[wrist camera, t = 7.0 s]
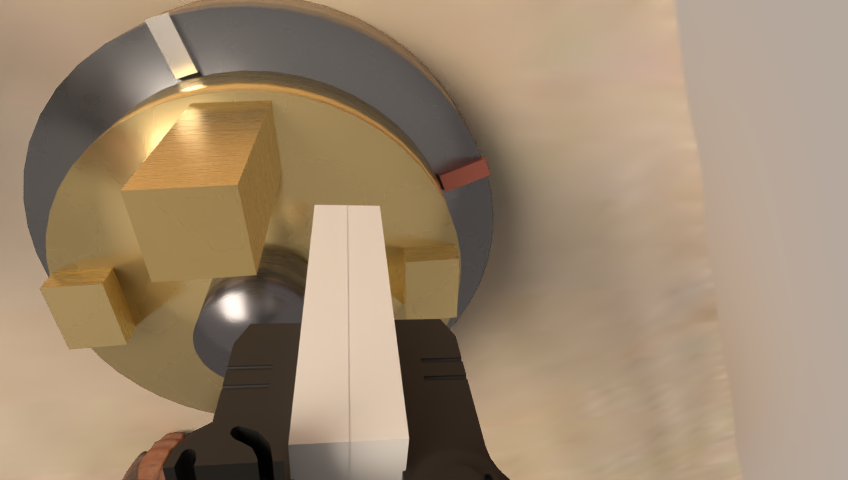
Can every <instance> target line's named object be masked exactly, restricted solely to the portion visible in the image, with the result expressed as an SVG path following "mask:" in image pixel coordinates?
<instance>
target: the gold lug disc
mask: <svg viewBox="0 0 848 480" xmlns="http://www.w3.org/2000/svg"><path fill="white" fill-rule="evenodd" d="M315 205H362V206H380V211H381V219H382V227H383V235H384V243H385V251H386V259H387V267H388V275H389V283H390V291H391V298H392V306H393V314H394V320H404V319H441V320H442V321H443V323H444V324H445V325H446V326H447V324H448V322H449V319H450V318H453V317H457V302H458V293H459V285H460V277H461V258H460V249H459V243H458V238H457V233H456V230H455V227H454V224H453V221H452V218H451V215H450V212H449V209H448V206H447V203H446V201H445V198H444V195H443V192H442V189H441V187H440V184H439V181H438V179H437V177H436V175H435V173H434V172H433V170H432V168H431V166H430V164H429V162H428V161H427V159H426V158H425V156H424V155H423V154H422V152H421V151H420V150H419V148H418V147H417V146H416V144H415V143H414V142H413V141H412V140H411V139H410V138H409V137H408V136H407V134H406V133H405V132H404V131H403V130H402V129H401V128H400V127H399V126H398V125H397V124H395V123H394V122H393V121H392V120H390V119H389V118H388V117H387V116H385V115H384V114H383V113H381V112H380V111H379V110H378V109H376V108H375V107H373V106H371V105H369V104H368V103H366V102H364V101H363V100H361V99H359V98H358V97H356V96H354V95H352V94H350V93H348V92H345V91H343V90H341V89H339V88H336V87H334V86H332V85H329V84H326V83H323V82H320V81H316V80H313V79H309V78H306V77H303V76H298V75H291V74H285V73H279V72H273V71H246V70H243V71H232V72H222V73H214V74H209V75H205V76H201V77H197V78H192V79H188V80H185V81H183V82H180V83H178V84H175V85H172V86H170V87H167V88H165V89H162V90H160V91H159V92H157V93H155V94H153V95H152V96H150V97H148V98H146V99H145V100H143V101H141V102H140V103H138V104H137V105H136V106H134V107H133V108H132V109H131V110H129V111H128V112H127V113H126V114H125V115H123V116H122V117H121V118H120V119H119V120H117V121H116V122H115V123H114V124H113V125H112V126H111V127H110V128H109V129H108V130H106V131H105V132H104V133H103V134H102V135H101V136H100V137H99V138H98V139H97V140H96V141H94V142H93V143H92V144H91V145H90V146H89V147H88V148H87V149H86V150H85V152H84V153H83V154H82V155H81V156H80V157H79V158H78V160H77V161H76V162H75V163H74V164H73V165H72V166H71V168H70V170H69V171H68V173H67V175H66V176H65V178H64V180H63V181H62V183H61V185H60V186H59V188H58V190H57V193H56V196H55V198H54V201H53V204H52V207H51V209H50V213H49V219H48V225H47V231H46V259H47V264H48V269H49V274H50V276H49V277H48V279H47V280H46V281H45V282H44V284H43V285H42V286H41V287H40V290H41V292H42V294H43V296H44V298H45V300H46V302H47V304H48V306H49V308H50V311H51V313H52V315H53V317H54V319H55V321H56V323H57V325H58V327H59V329H60V331H61V333H62V335H63V337H64V339H65V341H66V343H67V345H68V347H69V349H79V348H92V349H93V350H94V351H95V352H96V353H97V354H98V355H99V356H100V357H101V358H102V359H103V360H104V361H105V362H107V363H108V364H109V365H110V366H112V367H113V368H114V369H115V370H117V371H118V372H119V373H120V374H122V375H124V376H125V377H127V378H128V379H130V380H131V381H133V382H135V383H136V384H138V385H139V386H141V387H143V388H145V389H147V390H149V391H151V392H153V393H155V394H157V395H159V396H161V397H163V398H166V399H169V400H171V401H174V402H176V403H179V404H181V405H184V406H188V407H191V408H195V409H198V410H201V411H205V412H210V413H215V411H216V407H217V403H218V400H219V396H220V392H221V390H222V388H223V381H224V377H222V376H219V375H218V374H216V373H215V372H213V371H212V370H210V369H209V368H208V367H207V366H206V365H205V364H204V363H203V362H202V361H201V359H200V358H199V357H198V355H197V353H196V351H195V348H194V344H193V332H194V328H195V325H196V322H197V319H198V317H199V314H200V311H201V308H202V306H203V303H204V300H205V298H206V295H207V292H208V289H209V287H210V284H211V281H212V278H222V277H236V276H250V275H257V271H258V267H259V263H260V259H261V255H262V251H263V249H274V250H279V251H283V252H286V253H289V254H291V255H293V256H295V257H297V258H299V259H300V260H302V261H303V262H304V263H306V264H307V265H308V261H309V252H310V243H311V234H312V224H313V215H314V206H315Z"/></svg>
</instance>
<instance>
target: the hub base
mask: <svg viewBox="0 0 848 480" xmlns="http://www.w3.org/2000/svg"><path fill="white" fill-rule="evenodd" d="M243 70H246V71H273V72H279V73H285V74H291V75H298V76H303V77H306V78H309V79H313V80H316V81H320V82H323V83H326V84H329V85H332V86H334V87H336V88H339V89H341V90H343V91H345V92H348V93H350V94H352V95H354V96H356V97H358V98H359V99H361V100H363V101H364V102H366V103H368V104H369V105H371V106H373V107H375V108H376V109H378V110H379V111H380V112H381V113H383V114H384V115H385V116H387V117H388V118H389V119H390V120H392V121H393V122H394V123H395V124H397V125H398V126H399V127H400V128H401V129H402V130H403V131H404V132H405V133H406V134H407V136H408V137H409V138H410V139H411V140H412V141H413V142H414V143H415V144H416V146H417V147H418V148H419V150H420V151H421V152H422V154H423V155H424V156H425V158H426V159H427V161H428V162H429V164H430V166H431V168H432V170H433V172H434V173H435V175H436V177H437V179H438V181H439V184H440V187H441V189H442V192H443V195H444V198H445V201H446V203H447V206H448V209H449V212H450V215H451V218H452V221H453V224H454V227H455V230H456V233H457V238H458V243H459V249H460V258H461V277H460V285H459V293H458V302H457V317H453V318H450V319H449V322H448V324H447V327H448V328H449V329H450V327H451V326H452V325H453V324H454V323H455V322H456V321H457V319H458V318H459V317H460V315H461V314H462V312H463V311H464V310H465V308H466V307H467V305H468V304H469V302H470V300H471V299H472V297H473V295H474V293H475V291H476V289H477V287H478V285H479V283H480V281H481V278H482V275H483V272H484V269H485V267H486V264H487V260H488V256H489V251H490V246H491V241H492V227H493V209H492V198H491V190H490V185H489V181H488V177H487V176H489V175H490V171H489V168H488V165H487V162H486V159H485V157H482V158H481V156H480V153H479V151H478V148H477V146H476V143H475V141H474V139H473V137H472V135H471V134H470V132H469V130H468V128H467V127H466V125H465V123H464V121H463V119H462V118H461V116H460V114H459V112H458V111H457V109H456V107H455V106H454V104H453V102H452V101H451V99H450V97H449V96H448V94H447V92H446V91H445V90H444V89H443V87H442V86H441V85H440V84H439V82H438V81H437V80H436V79H435V77H434V76H433V75H432V73H431V72H430V71H429V70H428V69H427V68H426V67H425V66H424V65H423V64H422V63H421V62H420V61H419V60H418V59H416V58H415V57H414V56H413V55H412V54H411V53H410V52H409V51H408V50H407V49H405V48H404V47H403V46H401V45H400V44H398V43H397V42H396V41H394V40H393V39H392V38H390V37H389V36H387V35H386V34H385V33H383V32H381V31H380V30H378V29H376V28H374V27H372V26H370V25H369V24H367V23H365V22H363V21H361V20H359V19H358V18H356V17H353V16H351V15H348V14H345V13H343V12H340V11H338V10H335V9H332V8H330V7H327V6H324V5H320V4H316V3H312V2H307V1H303V0H202V1H197V2H192V3H189V4H187V5H184V6H181V7H178V8H175V9H172V10H169V11H166V12H163V13H161V14H160V15H158V16H154V17H151V18H148V19H146V20H145V23H143V24H141V25H139V26H137V27H135V28H133V29H132V30H130V31H128V32H126V33H124V34H122V35H121V36H119V37H117V38H115V39H113V40H111V41H110V42H108V43H106V44H105V45H103V46H102V47H101V48H99V49H98V50H97V51H95V52H94V53H93V54H92V55H90V56H89V57H88V58H86V59H85V60H84V61H82V62H81V63H80V64H79V65H78V66H77V67H76V68H75V69H74V70H73V71H72V72H71V73H70V74H69V76H68V77H67V78H66V79H65V80H64V81H63V82H62V83H61V84H60V85H59V86H58V88H57V89H56V90H55V92H54V94H53V95H52V97H51V98H50V100H49V102H48V103H47V105H46V106H45V108H44V110H43V111H42V113H41V114H40V117H39V119H38V122H37V124H36V127H35V129H34V132H33V135H32V137H31V140H30V142H29V147H28V152H27V157H26V163H25V168H24V205H25V211H26V217H27V224H28V228H29V231H30V234H31V237H32V241H33V244H34V247H35V250H36V253H37V255H38V257H39V259H40V261H41V263H42V265H43V267H44V269H45V271H46V273H47V275H48V277H49V276H50V274H49V269H48V264H47V259H46V231H47V225H48V219H49V213H50V209H51V207H52V204H53V201H54V198H55V196H56V193H57V190H58V188H59V186H60V185H61V183H62V181H63V180H64V178H65V176H66V175H67V173H68V171H69V170H70V168H71V166H72V165H73V164H74V163H75V162H76V161H77V160H78V158H79V157H80V156H81V155H82V154H83V153H84V152H85V150H86V149H87V148H88V147H89V146H90V145H91V144H92V143H93V142H94V141H96V140H97V139H98V138H99V137H100V136H101V135H102V134H103V133H104V132H105V131H106V130H108V129H109V128H110V127H111V126H112V125H113V124H114V123H115V122H116V121H117V120H119V119H120V118H121V117H122V116H123V115H125V114H126V113H127V112H128V111H129V110H131V109H132V108H133V107H134V106H136V105H137V104H138V103H140V102H141V101H143V100H145V99H146V98H148V97H150V96H152V95H153V94H155V93H157V92H159V91H160V90H162V89H165V88H167V87H170V86H172V85H175V84H178V83H180V82H183V81H185V80H188V79H192V78H197V77H201V76H205V75H209V74H214V73H222V72H232V71H243ZM307 270H308V265H307V264H306V263H304V262H303V261H302V260H300V259H299V258H297V257H295V256H293V255H291V254H289V253H286V252H283V251H279V250H274V249H263V251H262V255H261V259H260V263H259V267H258V271H257V275H250V276H236V277H222V278H212V281H211V284H210V287H209V289H208V292H207V295H206V298H205V300H204V303H203V306H202V308H201V311H200V314H199V317H198V319H197V322H196V325H195V328H194V332H193V344H194V348H195V351H196V353H197V355H198V357H199V358H200V359H201V361H202V362H203V363H204V364H205V365H206V366H207V367H208V368H209V369H210V370H212V371H213V372H215V373H216V374H218V375H219V376H222V377H225V374H226V370H227V369H228V363H229V359H230V355H231V351H232V348H233V344H234V342H235V341H236V340H237V339H238V338H239V337H240V335H241V334H242V333H243V332H244V331H245V330H246V329H247V327H248V326H249V325H250V324H272V323H302V315H303V306H304V297H305V288H306V279H307Z"/></svg>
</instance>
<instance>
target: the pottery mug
mask: <svg viewBox="0 0 848 480" xmlns="http://www.w3.org/2000/svg"><path fill="white" fill-rule="evenodd" d="M183 439H185V435H184V433H170V434H167V435H165V436H164V437H163V438H162V439H161V440H159V441H157V442H155V443H154V445H153V447H152V448H151V449H150V450H149V451H148V452H147V451H144V452H142V453H141V454H140V455H139V456H138V457H137V459H136V460H135V461H134V462H133V464H132V465H131V467H130V468H129V469H128V471H127V473H126V474H125V476H124V478H123V480H165V476H164V472H163V469H162V468H163V466H164V464H165V462H166V461H167V459H168V457H169V455H170V454H171V452H172V450H173V448H175V447H176V446H177V445H178V444H179V443H180V442H181V441H182V440H183Z"/></svg>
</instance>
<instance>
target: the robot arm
mask: <svg viewBox="0 0 848 480" xmlns="http://www.w3.org/2000/svg"><path fill="white" fill-rule="evenodd" d="M162 469H163V472H164V476H165V480H510V479H509V478H508V477H506V476H505V475H504V474H503V473H502V472H501V471H500V470H499V469H498V468H497V467H496V465H495V464H494V462H493V461H492V460H491V458H490V456H489V454H488V451H487V449H486V446H485V443H484V439H483V435H482V432H481V428H480V424H479V421H478V417H477V413H476V410H475V406H474V402H473V399H472V395H471V391H470V388H469V384H468V380H467V379H466V373H465V369H464V365H463V362H461V354H460V351H459V347H458V343H457V340H456V336H455V335H454V334H453V333H452V332H451V331H450V329H449V328H448V327H447V326H446V325H445V324H444V323H443V321H442V320H441V319H404V320H394V314H393V306H392V298H391V291H390V283H389V275H388V267H387V259H386V251H385V243H384V235H383V227H382V219H381V211H380V206H362V205H315V206H314V215H313V224H312V234H311V243H310V252H309V261H308V270H307V279H306V288H305V297H304V306H303V315H302V323H272V324H250V325H249V326H248V327H247V329H246V330H245V331H244V332H243V333H242V334H241V335H240V337H239V338H238V339H237V340H236V341H235V342H234V344H233V348H232V351H231V355H230V359H229V363H228V369H227V370H226V374H225V377H224V381H223V388H222V390H221V392H220V396H219V400H218V403H217V407H216V411H215V415H214V418H213V422H212V423H210V424H208V425H206V426H204V427H202V428H200V429H198V430H196V431H193V432H191V433H190V434H189V435H188V436H187V437H186V438H185V439H183V440H182V441H181V442H180V443H179V444H178V445H177V446H176V447H175V448H173V450H172V452H171V454H170V455H169V457H168V459H167V461H166V462H165V464H164V466H163V468H162Z"/></svg>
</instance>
